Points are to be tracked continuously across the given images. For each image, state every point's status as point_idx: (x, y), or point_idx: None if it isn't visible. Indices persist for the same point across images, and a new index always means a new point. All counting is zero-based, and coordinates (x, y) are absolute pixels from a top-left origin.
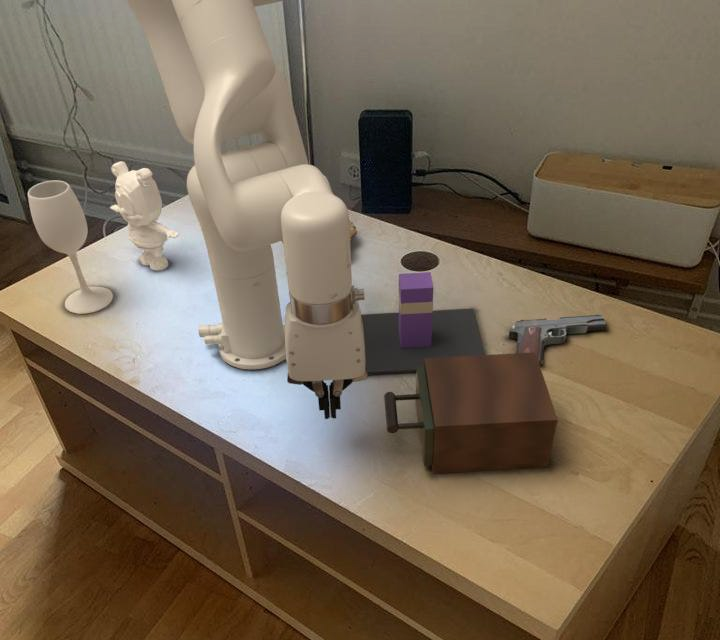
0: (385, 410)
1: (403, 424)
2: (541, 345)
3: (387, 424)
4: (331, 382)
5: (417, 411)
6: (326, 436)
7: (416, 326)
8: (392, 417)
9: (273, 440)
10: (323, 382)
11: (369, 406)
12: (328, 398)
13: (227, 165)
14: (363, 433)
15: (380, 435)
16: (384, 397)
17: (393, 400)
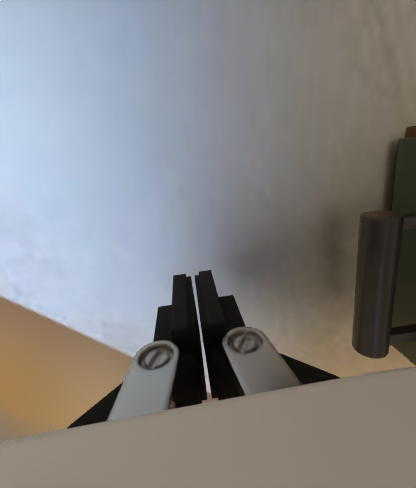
0: (361, 284)
1: (402, 339)
2: None
3: (361, 343)
4: (220, 364)
5: (409, 198)
6: (176, 249)
7: None
8: (384, 333)
9: (52, 269)
10: (181, 383)
11: (273, 135)
12: (203, 372)
13: None
14: (259, 235)
15: (296, 239)
16: (366, 228)
17: (398, 258)
